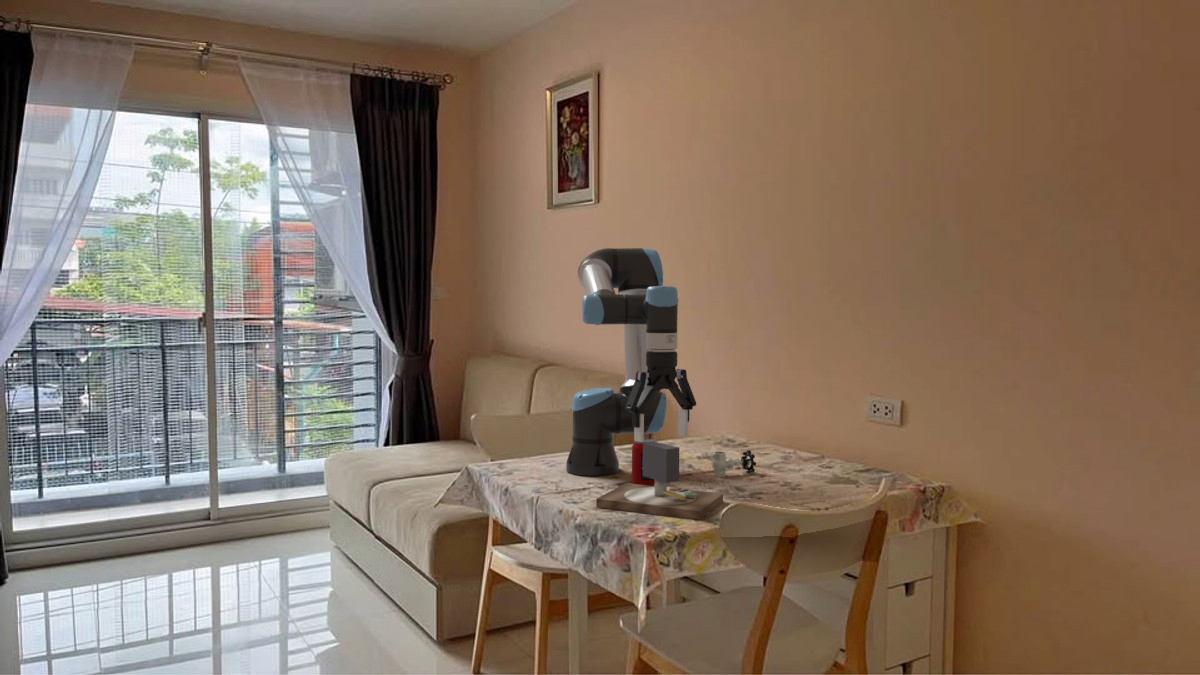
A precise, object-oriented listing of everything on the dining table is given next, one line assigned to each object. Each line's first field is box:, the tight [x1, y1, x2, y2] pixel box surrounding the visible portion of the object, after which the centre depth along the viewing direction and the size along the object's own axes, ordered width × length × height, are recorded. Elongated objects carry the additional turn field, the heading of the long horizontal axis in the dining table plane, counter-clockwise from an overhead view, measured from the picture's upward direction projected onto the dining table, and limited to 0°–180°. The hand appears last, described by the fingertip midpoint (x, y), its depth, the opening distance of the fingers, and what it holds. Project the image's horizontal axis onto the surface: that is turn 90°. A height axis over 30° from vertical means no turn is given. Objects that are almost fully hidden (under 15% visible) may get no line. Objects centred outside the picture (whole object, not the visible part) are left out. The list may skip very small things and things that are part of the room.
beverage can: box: [631, 438, 656, 486], centre depth 227 cm, size 7×7×12 cm
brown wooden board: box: [595, 482, 724, 521], centre depth 207 cm, size 26×18×2 cm
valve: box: [711, 449, 757, 478], centre depth 240 cm, size 7×7×12 cm
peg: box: [643, 441, 685, 500], centre depth 205 cm, size 13×4×12 cm, turn 35°
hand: (661, 438), depth 206 cm, fingers open, 13 cm apart
